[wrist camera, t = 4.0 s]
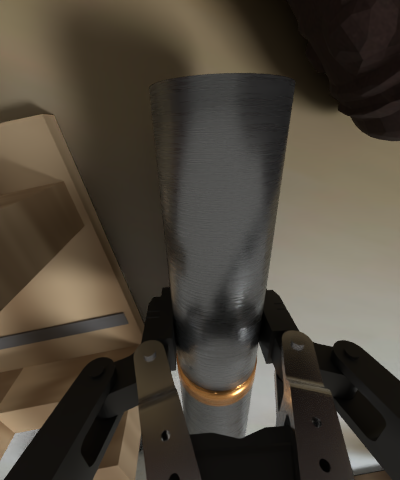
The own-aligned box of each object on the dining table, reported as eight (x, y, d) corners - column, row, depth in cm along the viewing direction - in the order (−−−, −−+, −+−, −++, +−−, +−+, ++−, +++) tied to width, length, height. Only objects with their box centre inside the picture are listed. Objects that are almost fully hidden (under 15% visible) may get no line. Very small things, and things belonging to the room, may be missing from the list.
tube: (162, 98, 9) (125, 76, 5) (274, 95, 9) (327, 69, 5) (187, 386, 18) (180, 460, 14) (242, 388, 18) (251, 463, 14)
